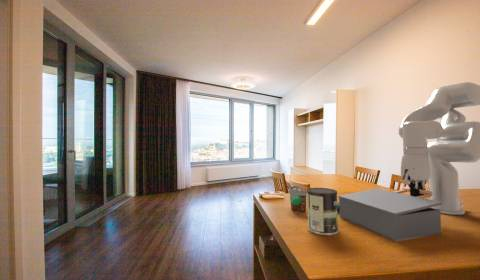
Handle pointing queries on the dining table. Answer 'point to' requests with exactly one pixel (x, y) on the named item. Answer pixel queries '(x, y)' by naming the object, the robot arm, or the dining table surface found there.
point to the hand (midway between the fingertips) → (417, 197)
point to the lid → (392, 200)
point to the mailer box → (393, 221)
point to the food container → (298, 199)
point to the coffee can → (322, 211)
